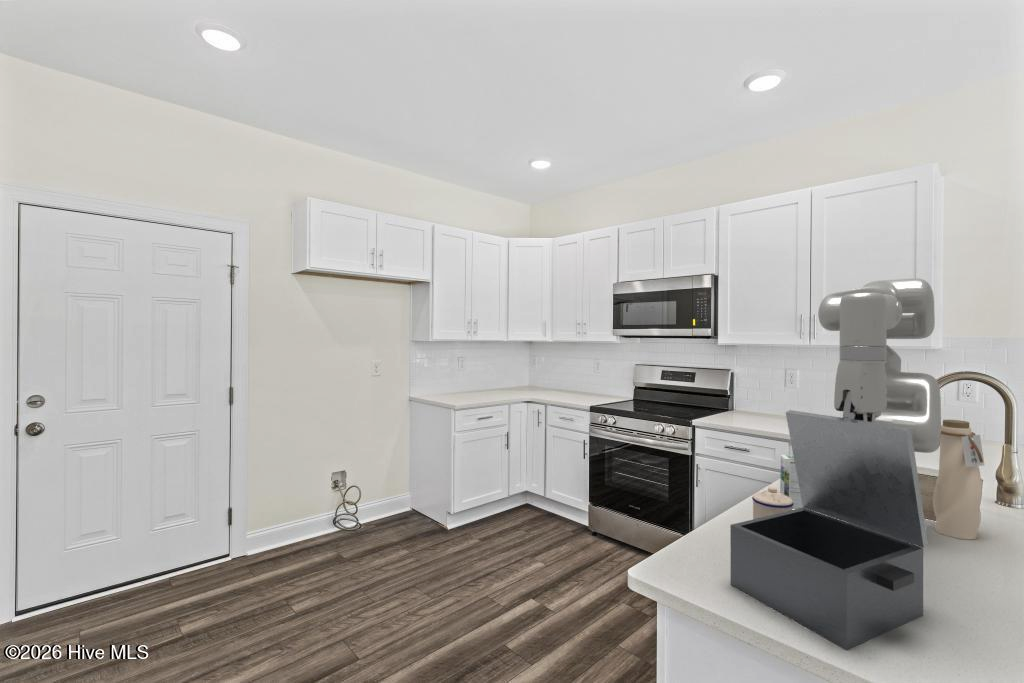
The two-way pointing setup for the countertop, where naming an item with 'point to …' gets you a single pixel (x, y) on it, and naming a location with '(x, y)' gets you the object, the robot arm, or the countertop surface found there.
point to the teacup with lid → (770, 503)
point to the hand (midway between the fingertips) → (862, 447)
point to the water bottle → (958, 481)
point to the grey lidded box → (828, 574)
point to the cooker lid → (859, 473)
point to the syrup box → (790, 481)
